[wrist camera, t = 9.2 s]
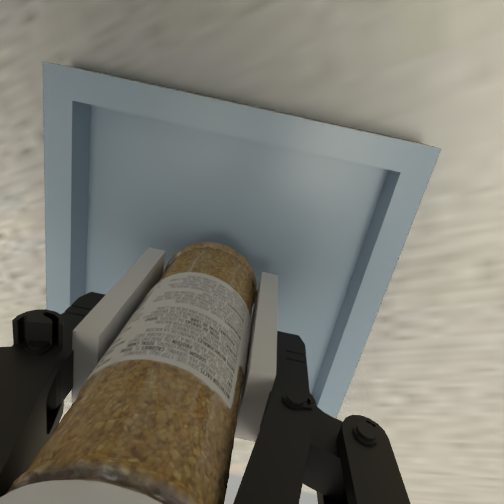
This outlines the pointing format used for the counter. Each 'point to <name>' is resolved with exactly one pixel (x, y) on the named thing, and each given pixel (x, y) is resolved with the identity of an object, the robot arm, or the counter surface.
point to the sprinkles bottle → (158, 396)
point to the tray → (228, 203)
